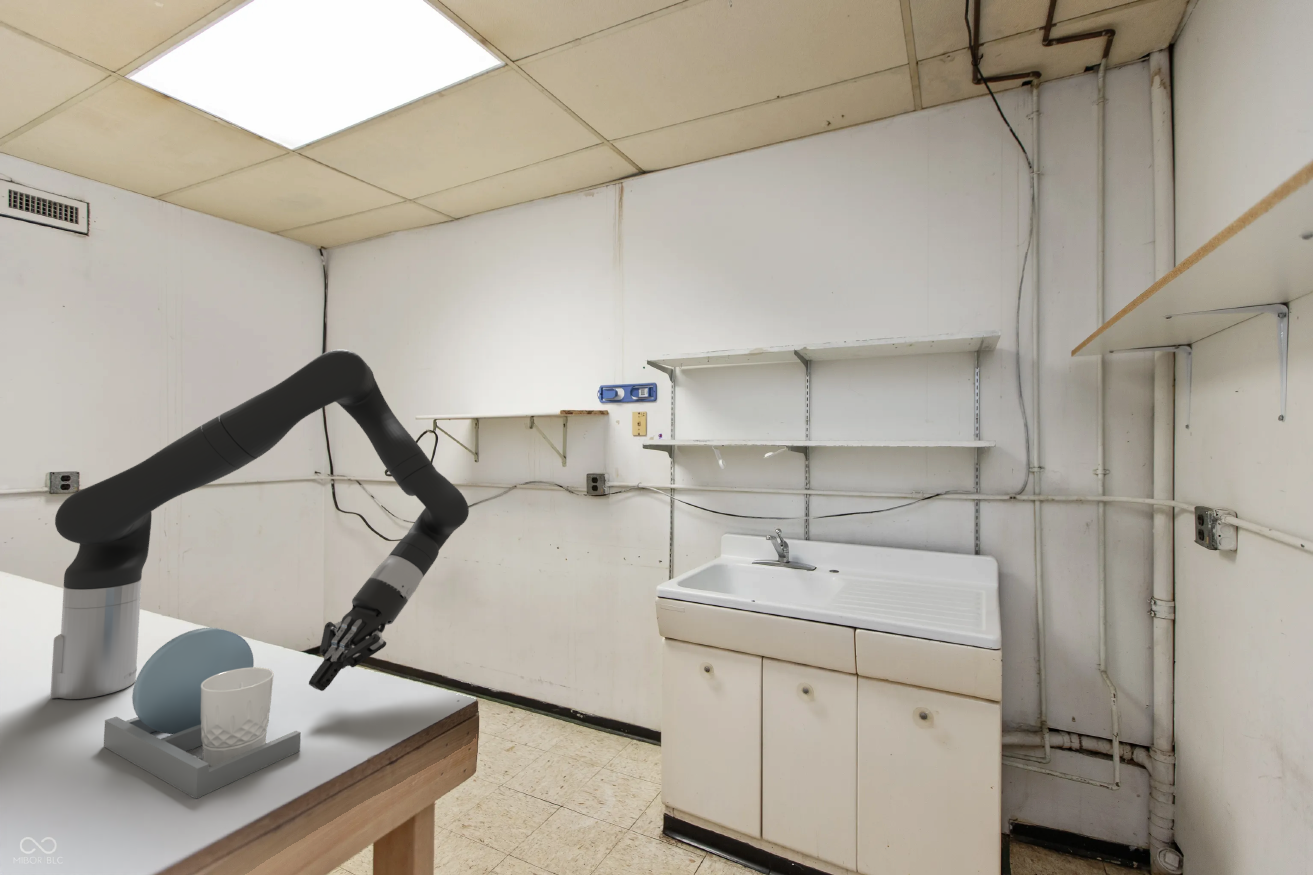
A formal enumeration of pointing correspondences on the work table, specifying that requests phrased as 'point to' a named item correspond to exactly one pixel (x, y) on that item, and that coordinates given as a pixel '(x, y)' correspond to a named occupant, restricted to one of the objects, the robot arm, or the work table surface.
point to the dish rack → (187, 714)
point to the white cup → (235, 712)
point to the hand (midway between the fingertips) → (315, 687)
